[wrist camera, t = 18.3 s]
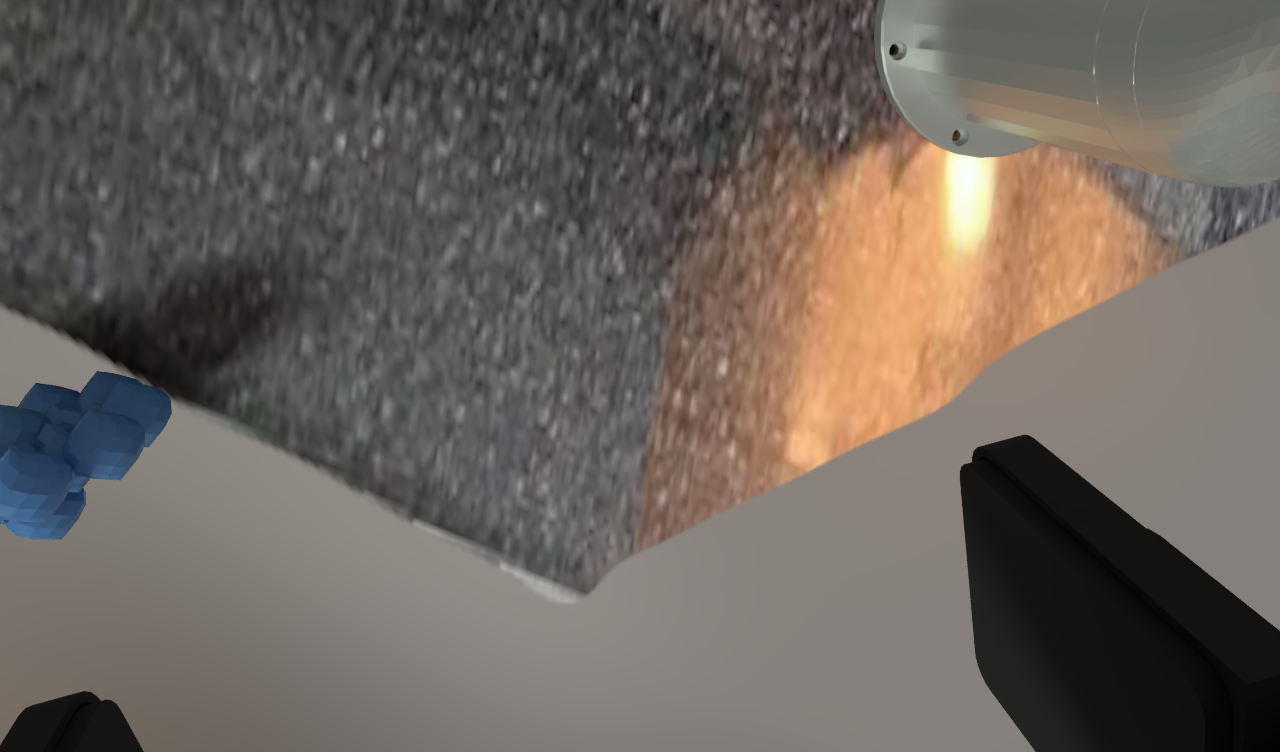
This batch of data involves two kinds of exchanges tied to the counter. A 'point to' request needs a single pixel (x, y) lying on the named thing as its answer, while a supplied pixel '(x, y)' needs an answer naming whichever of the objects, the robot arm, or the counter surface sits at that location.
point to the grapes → (71, 448)
